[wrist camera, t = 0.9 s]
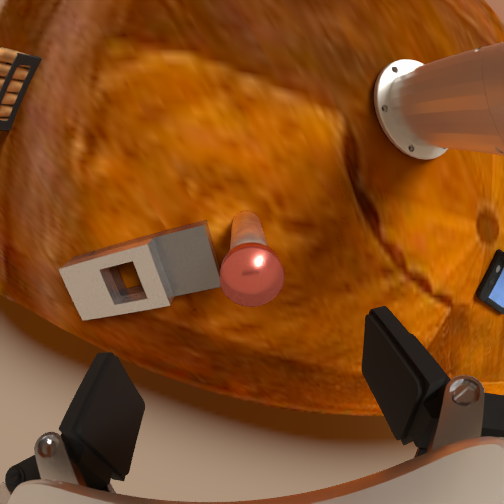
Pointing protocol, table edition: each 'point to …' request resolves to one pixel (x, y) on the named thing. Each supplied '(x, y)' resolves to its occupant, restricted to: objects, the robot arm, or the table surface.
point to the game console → (494, 284)
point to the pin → (250, 264)
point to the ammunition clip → (14, 83)
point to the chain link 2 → (179, 259)
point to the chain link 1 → (103, 286)
